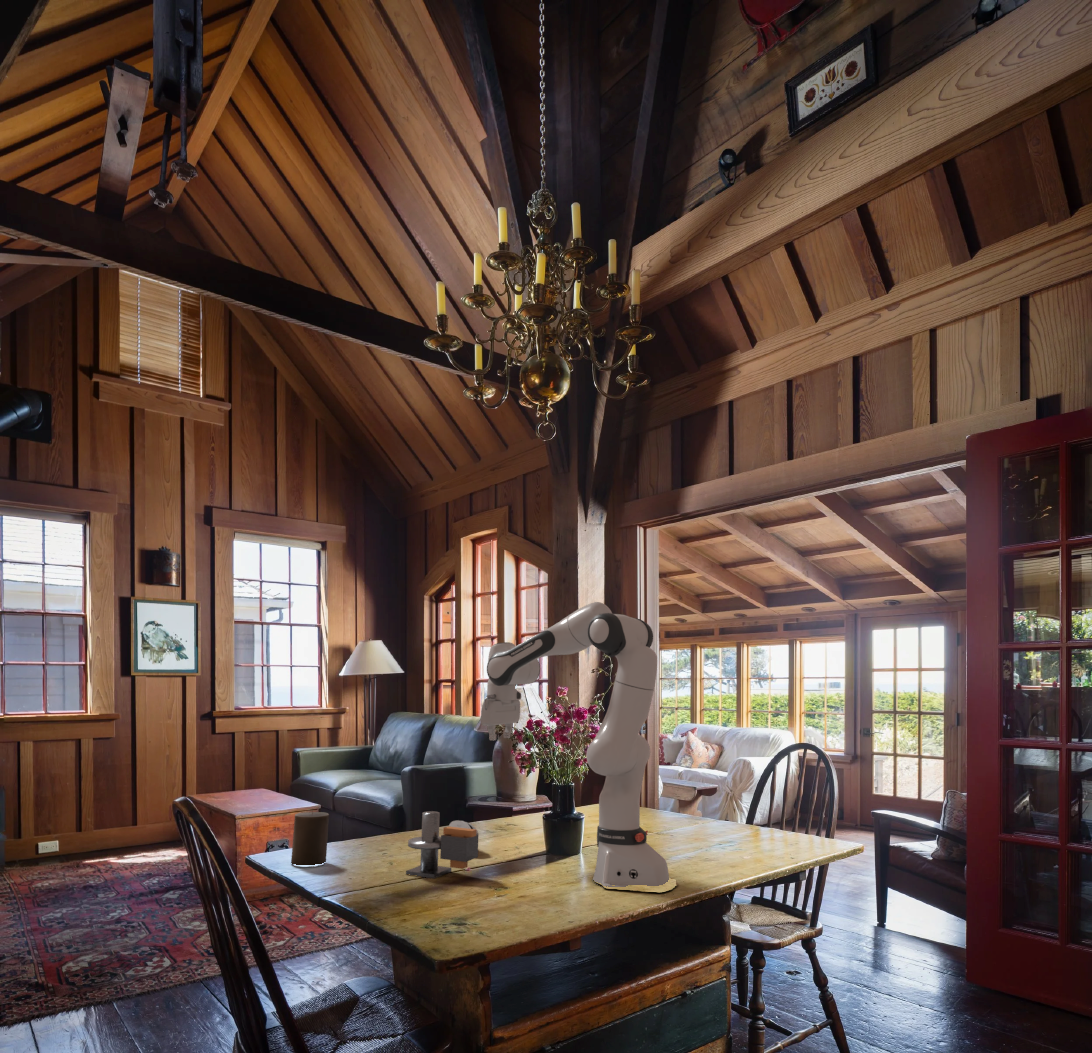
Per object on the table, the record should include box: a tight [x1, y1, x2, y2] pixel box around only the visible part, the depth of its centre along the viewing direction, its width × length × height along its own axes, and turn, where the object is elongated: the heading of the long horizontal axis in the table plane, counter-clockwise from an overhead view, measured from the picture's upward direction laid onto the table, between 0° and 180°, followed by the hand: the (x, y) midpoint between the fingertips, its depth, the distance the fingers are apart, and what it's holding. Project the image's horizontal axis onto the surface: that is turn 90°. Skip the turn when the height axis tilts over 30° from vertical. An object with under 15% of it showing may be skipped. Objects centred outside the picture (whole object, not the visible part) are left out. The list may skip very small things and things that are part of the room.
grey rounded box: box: [448, 819, 479, 835], centre depth 259 cm, size 17×5×10 cm, turn 29°
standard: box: [405, 810, 479, 880], centre depth 231 cm, size 20×12×16 cm, turn 65°
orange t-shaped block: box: [442, 825, 478, 870], centre depth 228 cm, size 9×2×10 cm, turn 65°
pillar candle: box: [290, 811, 330, 865], centre depth 241 cm, size 10×10×15 cm
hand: (499, 739), depth 262 cm, fingers open, 8 cm apart
